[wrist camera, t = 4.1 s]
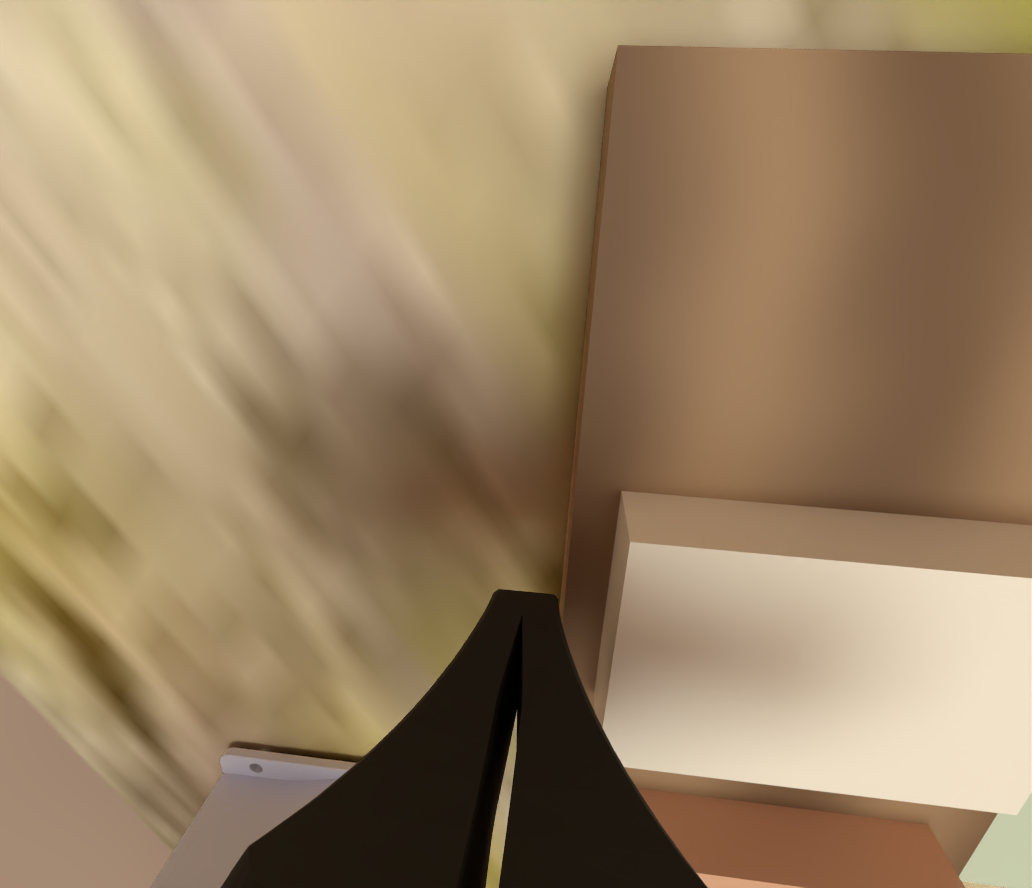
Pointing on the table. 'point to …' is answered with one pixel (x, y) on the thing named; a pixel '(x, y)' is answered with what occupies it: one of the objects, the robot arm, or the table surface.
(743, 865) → the tile
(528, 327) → the table surface
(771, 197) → the board
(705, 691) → the tile
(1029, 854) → the mat
